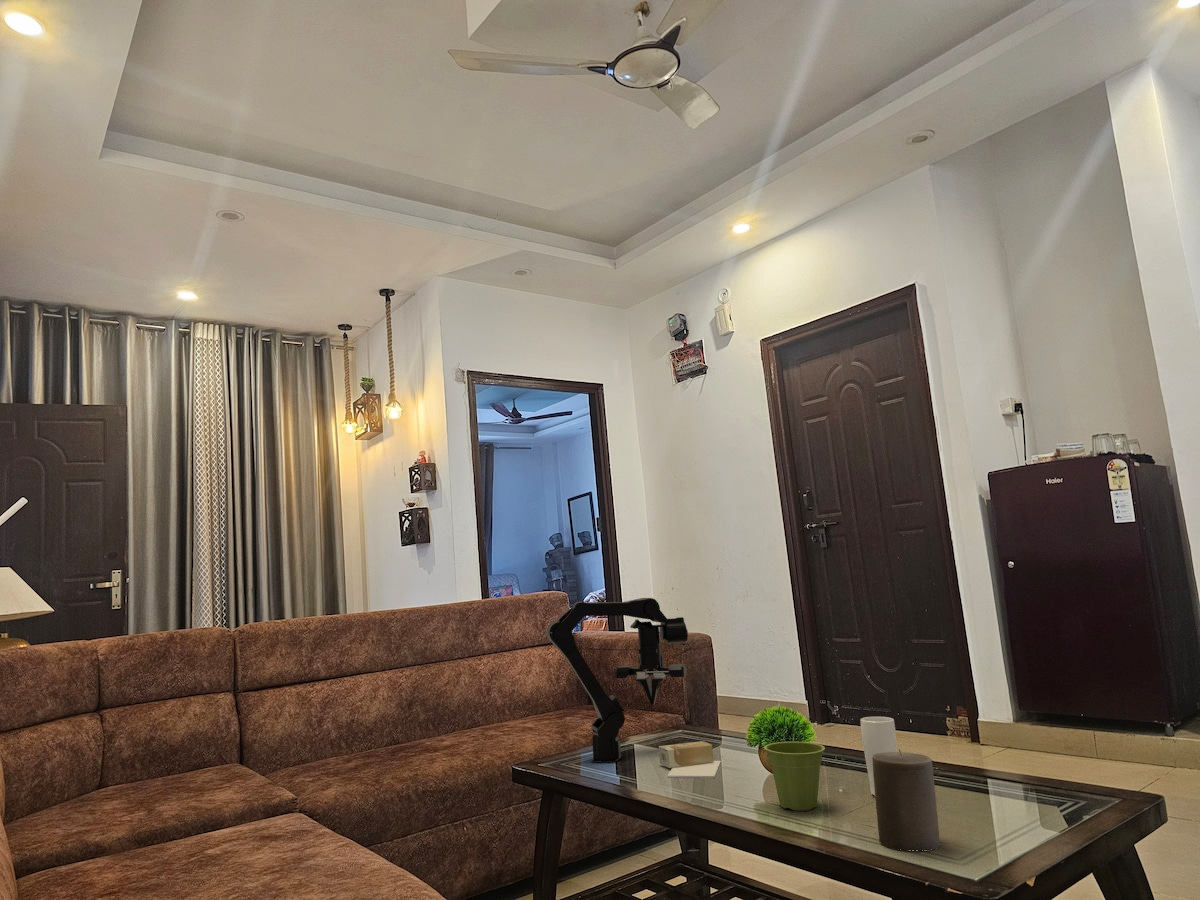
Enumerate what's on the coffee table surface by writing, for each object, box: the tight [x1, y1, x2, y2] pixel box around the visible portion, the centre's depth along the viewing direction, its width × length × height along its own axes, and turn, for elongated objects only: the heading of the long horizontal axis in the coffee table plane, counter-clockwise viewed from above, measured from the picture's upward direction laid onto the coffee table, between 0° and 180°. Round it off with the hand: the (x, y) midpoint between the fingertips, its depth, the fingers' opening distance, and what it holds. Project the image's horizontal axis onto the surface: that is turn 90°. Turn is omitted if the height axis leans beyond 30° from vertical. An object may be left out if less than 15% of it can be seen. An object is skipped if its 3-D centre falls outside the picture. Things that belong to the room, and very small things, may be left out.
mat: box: [666, 760, 722, 779], centre depth 192 cm, size 11×16×1 cm
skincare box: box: [658, 740, 715, 769], centre depth 198 cm, size 6×4×12 cm
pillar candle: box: [872, 748, 941, 851], centre depth 134 cm, size 10×10×15 cm
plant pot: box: [763, 741, 826, 812], centre depth 158 cm, size 12×12×11 cm
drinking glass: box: [859, 716, 898, 796], centre depth 163 cm, size 7×7×15 cm
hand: (652, 704), depth 212 cm, fingers closed
